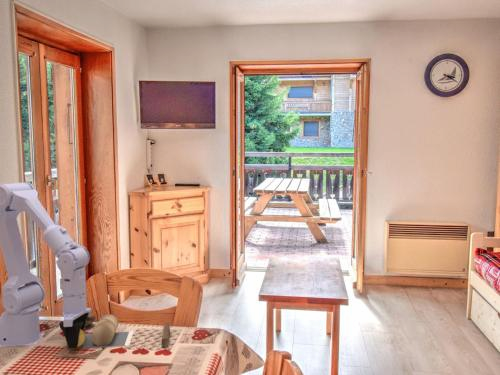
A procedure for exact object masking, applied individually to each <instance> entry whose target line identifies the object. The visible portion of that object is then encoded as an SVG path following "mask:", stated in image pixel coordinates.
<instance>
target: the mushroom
mask: <svg viewBox="0 0 500 375" xmlns="http://www.w3.org/2000/svg"><path fill="white" fill-rule="evenodd" d="M95 318H96V317H95V315H94V314H93V313H91V312H89V315H88V317H87V319H86V323H85V327H84V332H85V331H86V327H87V326H89V325H91V324H93V323H94V321H95Z"/></svg>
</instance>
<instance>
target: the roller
mask: <svg viewBox="0 0 500 375" xmlns="http://www.w3.org/2000/svg"><path fill="white" fill-rule="evenodd" d="M118 327H119V320H118V318H117V317H116V315H114V314H111V313H109V314H104V315H102V316H101V317H99V319H98V320H97V323H96V324H95V327H94V329H93V330H92V332H91V333H92V335H91V338H92V341H93V343H94V344H96V345H97V346H106V345H108V344H110V342H111V341H112V339H113V337H114V334H115V332H117V329H118Z"/></svg>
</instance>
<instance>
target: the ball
mask: <svg viewBox="0 0 500 375" xmlns="http://www.w3.org/2000/svg"><path fill="white" fill-rule="evenodd" d="M85 334H86V333H85V331H83V330H82V329H80V333H79V341H78V346H77V347H79V346H81V345H82V344H83V343H84V341H85ZM64 341H65V343H66V345H67V342H66V338H64Z"/></svg>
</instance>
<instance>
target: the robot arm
mask: <svg viewBox="0 0 500 375" xmlns="http://www.w3.org/2000/svg"><path fill="white" fill-rule="evenodd" d="M38 197H39V192H38V191H37V190H36V189H35V187H34V185H33V184H32V183H30V182H28V181H21V182H14V183H13V182H12V183H0V250H1V254H2V257H3V258H2V259H3V262H4V265H5V270H6V274H7V280H6V281H5V283H4V284H3V286H2V288H1V291H2V302H1V303H2V307H3V308H4V311H2V313H1V314H0V347H15V346H16V347H17V346H35V345H37V344H38V343H39V341H40V340H41V339H42V338H43V336H44V335H45V332H40V307H41V303H42V302H43V301H44V300H45V298H46V291H45V288H44V287H43V285H42V283H41V282H40V279H39V277H38V276H37V275H35V274H34V273H32V272H31V271H30V267H29V264H28V258H27V255H26V250H25V248H24V243H23V239H22V235H21V232H20V228H19V223H18V220H17V218H18V217H19V215H20V213H22V212H24V213H25V214H26V215H27V216H28V217H29V218H30V219H31V220H32V221H33V223H35V225H37V227H38V228H39V229H40V230H41V232H43V235H42V239H43V241H44V242H45V244H46V245H47V246H48V248H49V249H50V251H52V253H53V254H54V255H55V256H56V258H57V260H56V261H55V262H56V265H57V268H58V270H59V271H60V272H59V273H60V277H61V279H62V280H61V282H62V285H61V287H62V311H61V312H62V313H61V314H62V316H63V320H60V322H59V329H60V330H61V331H62V333H63V336H64V337H65V338H66V341H65V343H66V342H67V344H66V345H67V348H77V346H78V341H79V333H80V329H82V330H83V331H84V327H85V323H86V319H87V317H88V315H89V313H91V311H92V308H91V307H87V292H86V290H87V287H86V286H87V285H86V284H87V283H86V267H87V266H88V264H89V263H90V253H89V250H88V249H87V247H86V246H83V245H79V243H76V242H75V240H74V239H73V238H72V237H71V235H70V234H69V233H68V229H67V228H65V227H63V225H58V224H55V222H54V221H53V219H52V218H51V217H50V215H49V213H48V212H47V210H46V208H45V207H44V206H43V205H42V202H41V201H40V200H39V198H38ZM85 328H86V327H85ZM84 332H85V331H84ZM65 338H64V339H65Z"/></svg>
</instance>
